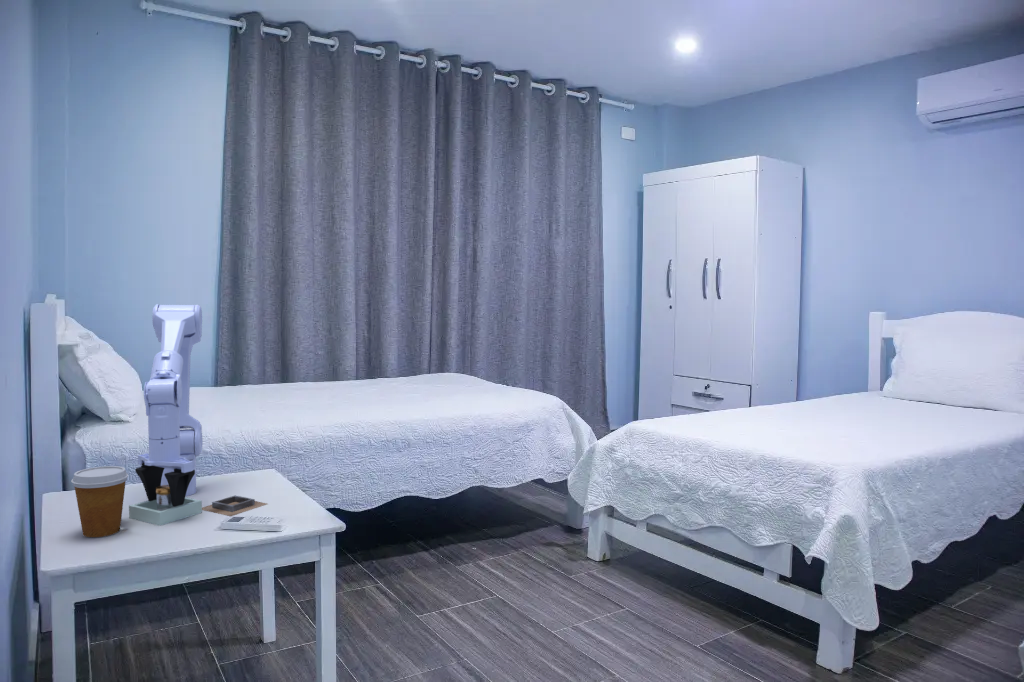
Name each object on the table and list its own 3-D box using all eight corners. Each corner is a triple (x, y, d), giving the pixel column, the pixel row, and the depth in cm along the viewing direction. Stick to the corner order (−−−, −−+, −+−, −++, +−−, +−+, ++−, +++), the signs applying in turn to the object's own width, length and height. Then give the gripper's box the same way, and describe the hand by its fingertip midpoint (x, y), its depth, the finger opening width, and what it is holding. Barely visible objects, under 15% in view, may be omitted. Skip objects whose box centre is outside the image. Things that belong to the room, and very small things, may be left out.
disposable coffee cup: (71, 543, 131) (69, 480, 131) (74, 528, 140) (72, 468, 139) (129, 535, 136) (128, 474, 135) (129, 521, 144) (128, 463, 143)
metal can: (170, 511, 148) (170, 483, 148) (180, 515, 146) (180, 486, 146) (152, 516, 145) (152, 487, 145) (162, 519, 143) (162, 490, 143)
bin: (129, 522, 144) (128, 505, 143) (171, 510, 152) (171, 494, 152) (160, 530, 139) (159, 512, 139) (202, 517, 148) (201, 500, 147)
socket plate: (197, 513, 150) (197, 503, 150) (236, 501, 159) (236, 491, 159) (230, 520, 145) (230, 510, 145) (268, 508, 154) (268, 498, 154)
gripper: (123, 436, 144) (125, 502, 145) (170, 444, 138) (171, 513, 138) (155, 431, 151) (156, 493, 151) (201, 438, 144) (202, 503, 145)
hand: (165, 502), depth 145 cm, fingers open, 7 cm apart
